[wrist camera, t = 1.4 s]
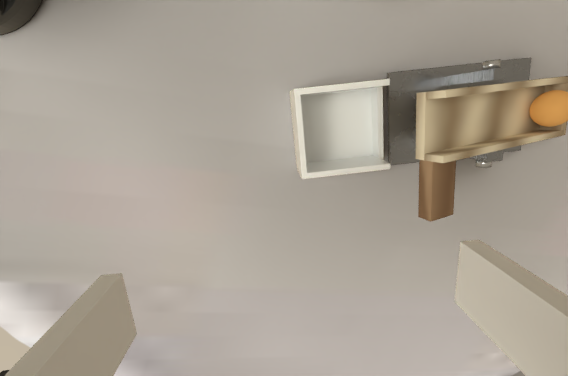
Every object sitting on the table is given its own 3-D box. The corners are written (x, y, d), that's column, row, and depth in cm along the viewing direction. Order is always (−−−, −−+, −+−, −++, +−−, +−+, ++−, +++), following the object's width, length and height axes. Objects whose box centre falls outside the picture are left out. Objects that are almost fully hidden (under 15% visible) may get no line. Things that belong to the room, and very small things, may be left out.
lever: (414, 217, 30) (440, 227, 27) (416, 92, 27) (446, 90, 24) (527, 183, 36) (557, 188, 34) (539, 79, 33) (573, 75, 30)
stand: (387, 164, 38) (420, 180, 30) (386, 73, 35) (423, 63, 27) (517, 149, 39) (584, 161, 30) (526, 58, 36) (604, 44, 28)
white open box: (289, 91, 35) (293, 88, 29) (374, 82, 35) (395, 78, 30) (296, 167, 38) (301, 179, 32) (376, 158, 38) (395, 168, 32)
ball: (522, 92, 31) (558, 90, 28) (551, 89, 32) (590, 87, 28) (518, 127, 32) (553, 129, 29) (547, 123, 33) (584, 125, 29)
